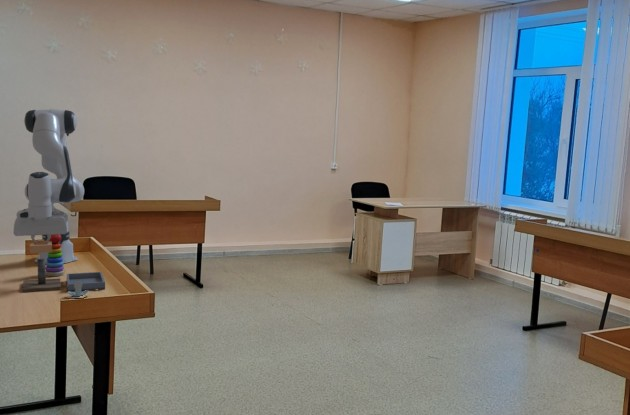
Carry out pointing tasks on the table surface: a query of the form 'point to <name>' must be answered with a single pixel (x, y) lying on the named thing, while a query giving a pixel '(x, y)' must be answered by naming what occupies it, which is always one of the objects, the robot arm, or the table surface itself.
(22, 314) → the table surface
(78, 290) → the pacifier
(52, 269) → the stacking toy
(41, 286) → the post stand
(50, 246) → the light brown flat block
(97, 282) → the tray
